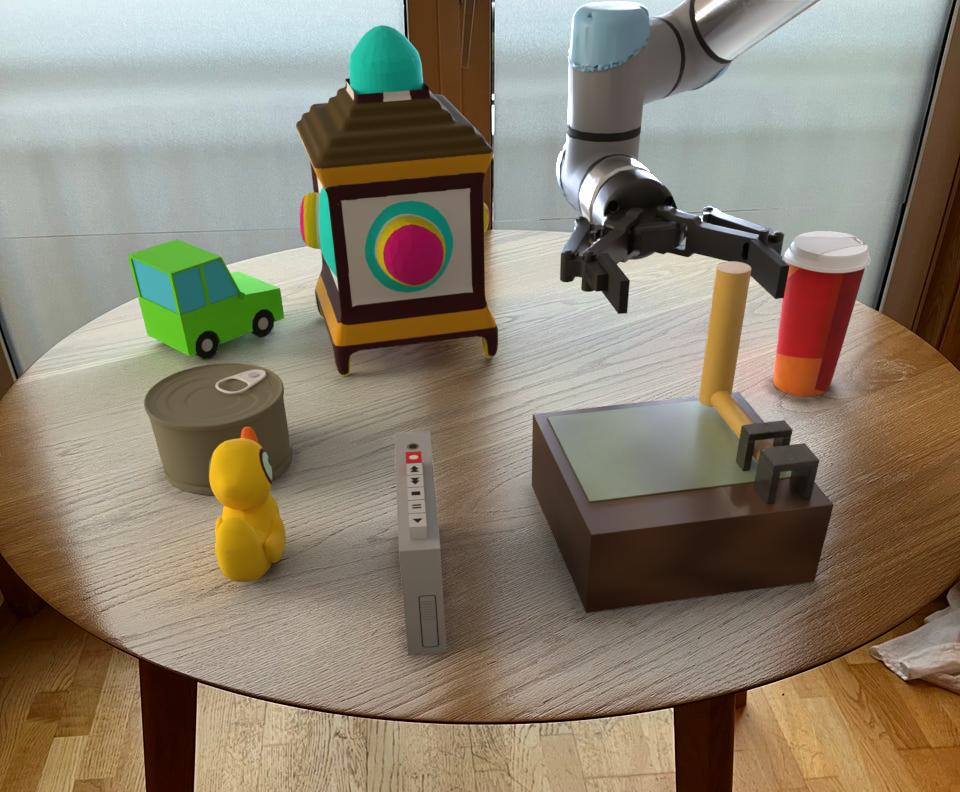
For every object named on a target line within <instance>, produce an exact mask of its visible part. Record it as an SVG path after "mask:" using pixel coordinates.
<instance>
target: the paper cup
mask: <svg viewBox="0 0 960 792" xmlns="http://www.w3.org/2000/svg"><path fill="white" fill-rule="evenodd" d="M784 261H785V262H786V263H787V264H788V265H789V266H790V267H789V272H788V277H787V283H786V288H785V294H784V298H782V301H781V309H780V317H779V325H778V333H777V339H776V340H777V342H776V350H775V359H774V367H773V377H772V380H773V381H772V382H773V385H774V387H775V388H776V389H778V390H779V391H781V392H783V393H786V394H789V395H791V396H797V397H817V396H820V395H823V394H825V393H826V392H828V390H829V389H830V387H831V384H832V382H833V378H834V374H835V372H836V368H837V365H838V362H839V360H840V359H839V358H840V356H841V352H842V348H843V345H844V342H845V338H846V334H847V331H848V329H849V325H850V321H851V318H852V314H853V310H854V307H855V304H856V301H857V297H858V294H859V290H860V287H861V283H862V280H863V276H864V274H865V270H866V268H867V267H868V266H870V264H871V256H870V254H869V245H868V244H866V242H865V241H863V240H862V239H860V238H858V237H857V236H856V235H853V234H850V233H845V232H840V231H829V230H817V231H816V230H815V231H814V230H813V231H807V232H803V233H800V234H798V235H796V236H795V237H794V239H793V241H792V242H791V244H790V245H789V246H788V248H787V249H786V250H785V252H784Z"/></svg>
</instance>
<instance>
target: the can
mask: <svg viewBox="0 0 960 792" xmlns="http://www.w3.org/2000/svg"><path fill="white" fill-rule="evenodd" d="M284 395H285V386H284V383H283V381H282V378H281V377H280V376H279V375H278V374H276V373H275V372H274V371H272V370H270V369H268V368H265V367H262V366H259V365H256V364H251V363H243V362H218V363H209V364H208V363H207V364H203V365H196V366H192V367H190V368H186V369H182V370H179V371H177V372H174V373H173V374H170V375H168V376H166V377H164V378H163V379H161V380H159V381H157V382H156V383H155V384H153V385H152V387H150V389H149V390H148V391H147V392H146V394H145V396H144V399H143V406H144V407H143V408H144V410H145V413H146V415H147V416H148V418H149V421H150V425H151V429H152V432H153V437H154V439H155V443H156V446H157V449H158V454H159V457H160V461H161V464H162V470H163V474H164V476H165V478H166V479H167V481H168V482H169V483H170V484H171V485H172V486H174V487H176V488H177V489H179V490H182V491H184V492H188V493H192V494H196V495H201V496H202V495H203V496H215V495H214V493H213V491H212V489H211V486H210V481H209V464H210V459H211V456H212V454H213V452H214V451H215V449H216V448H217V447H218V446H219V445H220V444H221V443H223V442H225V441H227V440H231V439H239V438H240V437H241V432H242V430H243V428H244V427H251V428H252V429H253V430H254V432H255V434H256V436H257V439H258V442H259V445H260V446H261V447H262V448H263V449H264V450H265V452H266V453H267V455H268V457H269V460H270V463H271V468H272V481H274V480H276V479H277V478H279V477H280V476H281V475H282V474H284V472H285V471H286V470H287V469H288V468H289V466H290V465H291V462H292V460H293V459H292V458H293V450H292V449H293V448H292V445H291V440H290V438H291V437H290V432H289V426H288V420H287V411H286V406H285V397H284Z"/></svg>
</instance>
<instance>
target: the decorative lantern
mask: <svg viewBox="0 0 960 792" xmlns="http://www.w3.org/2000/svg"><path fill="white" fill-rule="evenodd" d="M348 63H349V64H348V73H349V78H345V80H344V82H345V86H344V87H341V88H338V89H337V92H336V95H335V96H331V97H330V98H329V99H328V101H327V102H320V103H314V104H312V105H311V106H310V108H309V111H307V112H304V113H302V114H301V118H300V119H299V120H298V121H297V122H296V123H295V129H296V131H297V133H298V136H299V138H300V140H301V143H302V145H303V148H304V150H305V152H306V154H307V156H308V159H309V163H310V172H311V180H312V181H311V182H312V189H313V192H309V193H307V194H305V195H304V196H303V197H302V199H301V203H300V207H299V228H300V230H299V231H300V235H301V238H302V242H304V244H305V245H306V246H307V247H308V248H312V249H316V250H320V254H321V255H320V256H321V270H320V273H319V275H318V279H317V280H316V285H315V288H314V295H315V302H316V307H317V311H318V313H319V315H320V317H322V318H323V321H324V324H325V327H326V330H327V333H328V336H329V339H330V342H331V346H332V350H333V354H334V355H333V356H334V362H335V366H336V370H337V372H338V374H339V375H340V376H341V377H348V376H349V375H350V373H351V360H352V356H353V354H355V353H357V352H360V351H361V352H362V351H369V350H376V349H385V348H391V347H401V346H409V345H417V344H425V343H432V342H441V341H449V340H457V339H464V338H465V339H466V338H474V337H479V338H481V343H482V350H483V353H484V355H485V357H487V358H489V359H490V358H494V357H495V356H496V354H497V352H498V347H499V328H498V324H497V322H496V319H495V317H494V314H493V312H492V310H491V307H490V306H489V304H488V303H487V299H486V279H485V278H486V276H485V274H486V273H485V269H486V268H485V233H486V232H487V230H488V228H489V225H490V209H489V207H488V205H487V204H486V203H485V202H484V184H485V183H484V182H485V177H486V173H487V171H488V168H489V166H490V164H491V162H492V159H493V155H494V148H493V147H492V145H491V144H490V143H488V142H487V140H486V138H485V137H484V136H483V135H484V134H482V133H481V132H480V131H479V130H478V129H477V128H476V127H475V126H474V125H473V124H472V123H471V122H470V121H469V120H468V119H467V118H466V117H465V116H464V115H463V114H462V113H461V111H459V110H458V108H457V107H455V105H454V104H452V102H450V100H448V98H447V97H446V96H445V95H443V94H438V93H435V94H434V93H432V91H431V90H430V87H429V86H428V85H427V84H426V83H425V82H424V77H423V67H422V66H423V65H422V60H421V57H420V54H419V51H418V50H417V48H416V47H415V46H414V44H412V42H410V40H409V39H408V38H407V36H405V35H404V34H403V33H402V32H401V31H399V30H398V29H396V27H395V28H394V27H392V26H389V25H383V24H381V25H377V26H374V27H372V28H371V29H369V30H367V31H366V32H365V33H364V34H363V36H362V37H361V38H360V39H359V40H358V42H357V44H356V45H355V47H354V48H353V50H352V51H351V53H350V56H349V61H348Z"/></svg>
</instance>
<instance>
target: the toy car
mask: <svg viewBox="0 0 960 792" xmlns="http://www.w3.org/2000/svg"><path fill="white" fill-rule="evenodd" d="M127 259H128V263H129V267H130V271H131V274H132V279H133V282H134V287H135V290H136V295H137V299H138V303H139V307H140V310H141V314H142V318H143V322H144V326H145V331H146V335H147V336H149V337H151V339H154V340H156V341H158V342H160V343H163V344H164V345H166V346H168V347H170V348H172V349H174V350H176V351H179V352H180V353H182V354H184V355H186V356H188V357H191V356H193V355H195V356H197V357H199V358H201V359H203V360H208V359H212V358H213V357H214V356H215V355H216V354H217V352H218V350H219V347H220V345H222V344H224V343H227V342H229V341H232V340H235V339H237V338H240V337H243V336H245V335H248V334H250V333H251V334H252V335H254V336H257V337H259V338H265V337H267V336H268V335H270V334H271V333H272V331H273V330H274V326H275V323H276V322H278V321H282V320H283V319H285V314H284V313H285V312H284V306H283V298H282V297H283V296H282V292H281V288H280V287H278V286H275V285H273V284H270V283H268V282H266V281H263V280H261V279H259V278H256V277H253V276H251V275H248V274H246V273H243V272H241V271H232V272H230V270H229V268H228V266H227V264H226V263H225V261H224V259H223V258H222V256H220V255H218V254H215V253H213V252H211V251H208V250H205V249H203V248H201V247H198V246H195V245H193V244H191V243H188V242H186V241H182V240H180V239H177V238H176V239H173V240H170V241H167V242H164V243H161V244H157V245H153V246H151V247H148V248H147V247H146V248H144V249H142V250H141V249H140V250H138V251H135V252H132V253H127Z"/></svg>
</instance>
